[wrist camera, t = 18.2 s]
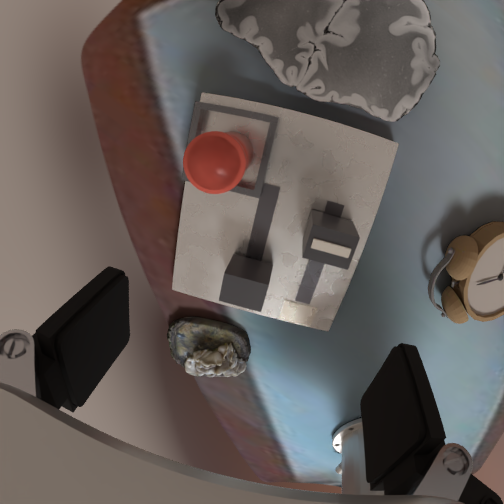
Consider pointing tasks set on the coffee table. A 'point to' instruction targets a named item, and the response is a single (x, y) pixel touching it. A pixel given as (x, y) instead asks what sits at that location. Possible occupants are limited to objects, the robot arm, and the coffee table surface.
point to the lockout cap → (217, 160)
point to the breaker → (246, 282)
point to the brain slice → (342, 48)
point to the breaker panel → (280, 206)
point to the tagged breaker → (329, 240)
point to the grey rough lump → (208, 347)
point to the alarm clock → (473, 276)
